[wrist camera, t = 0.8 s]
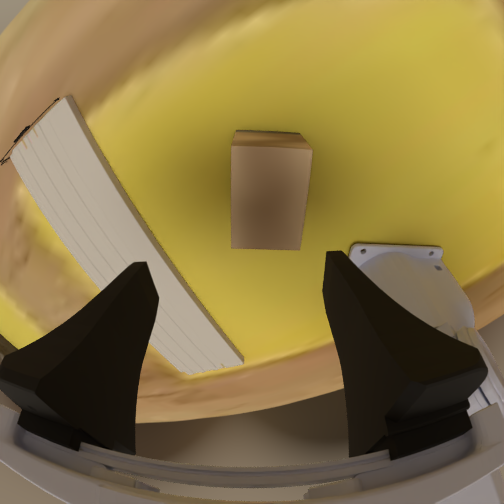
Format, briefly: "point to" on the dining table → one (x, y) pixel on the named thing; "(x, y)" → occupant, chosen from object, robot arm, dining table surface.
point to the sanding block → (269, 189)
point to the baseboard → (113, 234)
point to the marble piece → (5, 348)
